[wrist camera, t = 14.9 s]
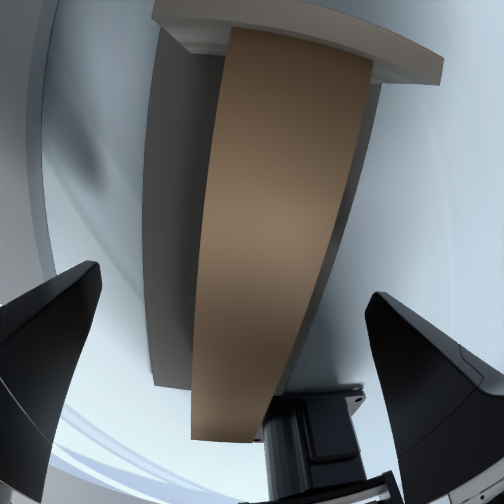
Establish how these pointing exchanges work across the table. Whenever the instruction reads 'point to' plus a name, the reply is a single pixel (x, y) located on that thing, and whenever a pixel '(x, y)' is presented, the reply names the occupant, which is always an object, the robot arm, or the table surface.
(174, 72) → the rest
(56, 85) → the table surface
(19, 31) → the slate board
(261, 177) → the light brown wooden bar
